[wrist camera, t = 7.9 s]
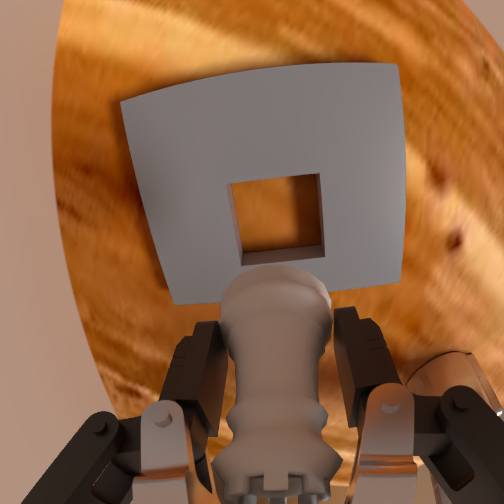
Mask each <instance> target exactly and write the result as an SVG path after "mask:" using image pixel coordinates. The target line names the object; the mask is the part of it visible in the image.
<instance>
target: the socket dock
mask: <svg viewBox="0 0 504 504" xmlns="http://www.w3.org/2000/svg"><path fill="white" fill-rule="evenodd" d="M120 105H121V110H122V116H123V121H124V126H125V131H126V135H127V140H128V145H129V149H130V154H131V158H132V162H133V167H134V171H135V175H136V179H137V183H138V187H139V191H140V195H141V199H142V202H143V206H144V210H145V213H146V217H147V221H148V224H149V228H150V231H151V234H152V238H153V241H154V244H155V248H156V251H157V254H158V257H159V261H160V264H161V267H162V270H163V273H164V276H165V279H166V282H167V285H168V288H169V291H170V294H171V297H172V300H173V303H174V305H189V304H204V303H218V302H221V300H222V297H223V294H224V291H225V289H226V288H227V287H228V286H229V285H230V284H231V283H232V282H233V281H234V280H235V279H236V278H237V277H238V276H239V275H240V274H242V273H244V272H246V271H249V270H251V269H254V268H256V267H258V266H261V265H278V264H287V265H290V266H293V267H297V268H300V269H303V270H307V271H309V272H310V273H311V274H312V275H314V276H315V277H316V278H317V279H318V280H320V281H321V282H322V283H323V284H324V285H325V287H326V290H327V292H331V291H340V290H348V289H356V288H363V287H371V286H378V285H385V284H392V283H399V282H400V276H401V267H402V257H403V245H404V230H405V208H406V153H405V131H404V117H403V106H402V96H401V87H400V79H399V72H398V65H397V64H390V63H317V64H301V65H290V66H279V67H271V68H263V69H255V70H248V71H242V72H236V73H230V74H224V75H219V76H214V77H209V78H204V79H200V80H195V81H191V82H187V83H182V84H178V85H175V86H171V87H167V88H163V89H160V90H156V91H153V92H149V93H146V94H143V95H139V96H136V97H133V98H130V99H127V100H124V101H121V102H120ZM315 173H316V180H317V191H318V203H319V217H320V232H321V245H315V246H305V247H296V248H287V249H278V250H269V251H259V252H250V253H243V248H242V243H241V238H240V232H239V227H238V221H237V216H236V210H235V205H234V199H233V194H232V188H231V184H232V183H239V182H246V181H254V180H262V179H270V178H278V177H287V176H296V175H305V174H315Z"/></svg>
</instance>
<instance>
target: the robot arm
mask: <svg viewBox="0 0 504 504" xmlns="http://www.w3.org/2000/svg"><path fill="white" fill-rule="evenodd" d="M334 351H335V357H336V362H337V367H338V372H339V377H340V382H341V388H342V393H343V398H344V404H345V409H346V415H347V421H348V427H349V428H352V427H357V431H358V436H359V438H358V441H357V447H356V452H355V458H354V463H353V468H352V473H351V478H350V483H349V487H348V491H347V495H346V498H345V502H344V504H414V502H415V494H416V485H417V465H416V463H414V461H413V456H420V458H421V459H422V461H423V462H424V464H425V465H426V466H427V468H428V470H429V474H430V478H431V482H432V486H433V491H434V495H435V500H436V504H504V422H503V420H501V418H500V415H501V414H502V407H501V405H500V403H499V401H498V399H497V397H496V395H495V393H494V391H493V389H492V387H491V385H490V383H489V381H488V379H487V377H486V375H485V374H484V372H483V370H482V368H481V366H480V365H479V363H478V361H477V359H476V358H475V356H474V354H470V355H466V354H464V353H461V352H452V353H448V354H444V355H442V356H439V357H437V358H435V359H434V360H432V361H430V362H428V363H427V364H426V365H424V366H423V367H422V368H420V369H419V370H418V371H417V372H416V373H415V374H414V375H413V376H412V377H411V379H410V380H409V382H408V384H407V386H406V387H405V386H403V385H402V383H401V382H400V379H399V377H398V374H397V371H396V368H395V366H394V363H393V360H392V358H391V355H390V352H389V350H388V348H387V345H386V342H385V339H384V337H383V334H382V332H381V329H380V327H379V326H378V325H377V324H376V323H375V322H374V321H373V320H372V319H371V318H367V319H359V316H358V314H357V311H356V308H355V307H354V306H351V307H344V308H337V309H334ZM227 368H228V353H227V349H226V347H225V345H224V343H223V339H222V335H221V331H220V326H219V323H218V321H206V322H197V323H196V325H195V329H194V332H193V335H192V336H185V337H184V338H183V339H182V340H181V341H180V342H179V344H178V345H177V346H176V349H175V352H174V355H173V359H172V361H171V364H170V368H169V370H168V373H167V376H166V379H165V382H164V385H163V388H162V391H161V394H160V398H159V400H158V401H157V402H154V403H153V404H151V405H150V406H148V407H147V408H146V409H145V411H144V412H143V414H142V416H138V417H134V418H128V419H122V420H118V419H117V418H116V416H115V415H114V414H112V413H110V412H106V411H101V412H97V413H95V414H93V415H91V416H90V417H89V418H88V419H87V420H86V421H85V423H84V424H83V425H82V426H81V428H80V429H79V430H78V432H77V433H76V434H75V435H74V436H73V437H72V439H71V440H70V441H69V443H68V444H67V445H66V446H65V448H64V449H63V450H62V451H61V453H60V454H59V455H58V457H57V458H56V459H55V460H54V461H53V463H52V464H51V465H50V467H49V468H48V469H47V470H46V472H45V473H44V474H43V475H42V477H41V478H40V479H39V481H38V482H37V483H36V485H35V486H34V487H33V489H32V490H31V491H30V492H29V494H28V495H27V496H26V498H25V499H24V500H23V502H22V503H21V504H130V503H131V501H132V500H133V504H221V503H220V501H219V499H218V497H217V494H216V489H215V484H214V479H213V474H212V469H211V464H210V459H209V453H208V449H207V447H206V445H207V439H208V437H218V430H219V423H220V416H221V409H222V402H223V396H224V389H225V382H226V375H227ZM109 462H110V463H109ZM106 466H107V467H106ZM104 469H105V470H104ZM103 470H104V471H103ZM101 473H102V474H101ZM98 477H99V478H98ZM97 479H98V480H97ZM96 480H97V481H96ZM93 484H94V485H93Z"/></svg>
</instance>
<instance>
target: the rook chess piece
mask: <svg viewBox="0 0 504 504" xmlns="http://www.w3.org/2000/svg"><path fill="white" fill-rule="evenodd" d="M220 311H221V314H220V317H219V320H218V321H219V326H220V331H221V335H222V339H223V343H224V345H225V347H226V348H227V349H228V353H229V356H230V358H231V359H232V360H233V361H234V362H235V374H236V390H237V391H236V401H235V406H234V407H233V408H231V410H230V412H229V414H228V415H227V417H226V420H227V423H228V426H229V428H230V429H231V430H232V432H233V440H232V442H231V443H230V444H229V445H228V446H227V447H226V448H224V449H223V450H222V451H221V452H220V453H219V454H218V455H216V457H215V458H214V460H213V461H212V463H211V465H212V466H213V468H214V470H215V472H216V473H217V475H218V476H219V477H220V479H221V480H222V481H223V483H224V492H223V500H224V501H225V503H236V504H256V500H257V497H262V498H269V503H268V504H287V498H288V497H295V496H298V504H318V501H328V500H329V498H330V496H331V494H330V481H331V480H332V478H333V477H334V475H335V474H336V473H337V471H338V470H339V468H340V466H341V464H342V461H343V459H342V458H341V457H340V455H339V454H338V453H337V452H336V451H335V450H334V449H333V448H331V447H330V446H329V445H328V444H327V443H326V442H324V441H323V439H322V435H321V430H322V429H323V428H324V426H325V425H326V423H327V419H328V413H327V412H326V410H325V409H324V407H323V406H322V405H321V404H319V396H318V363H319V360H320V358H321V357H322V355H323V354H324V352H325V346H326V345H327V343H328V342H329V340H330V339H331V333H332V324H333V313H332V311H331V299H330V297H329V294H328V292H327V290H326V287H325V285H324V284H323V283H322V282H321V281H320V280H318V279H317V278H316V277H315V276H314V275H312V274H311V273H310V272H309V271H307V270H303V269H300V268H297V267H293V266H290V265H287V264H278V265H261V266H258V267H256V268H254V269H251V270H249V271H246V272H244V273H242V274H240V275H239V276H238V277H237V278H236V279H235V280H234V281H233V282H232V283H231V284H230V285H229V286H228V287H227V288H226V289H225V291H224V294H223V297H222V300H221V303H220Z"/></svg>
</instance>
